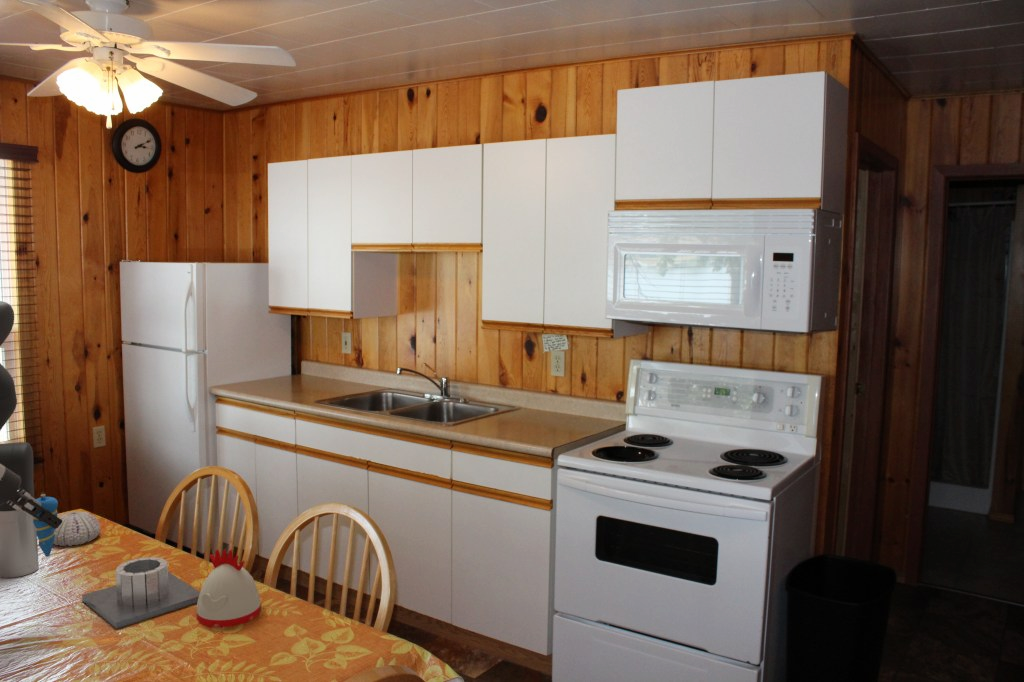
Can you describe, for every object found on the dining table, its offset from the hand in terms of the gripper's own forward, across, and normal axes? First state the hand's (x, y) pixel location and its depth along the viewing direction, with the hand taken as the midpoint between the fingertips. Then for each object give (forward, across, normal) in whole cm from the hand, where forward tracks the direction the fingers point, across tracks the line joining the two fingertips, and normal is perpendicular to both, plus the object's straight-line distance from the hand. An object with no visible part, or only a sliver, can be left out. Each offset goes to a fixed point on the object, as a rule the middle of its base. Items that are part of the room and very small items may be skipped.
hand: (54, 521), depth 182 cm
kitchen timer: (+35, -26, -4) cm, 44 cm away
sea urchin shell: (+29, +47, +2) cm, 55 cm away
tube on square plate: (+27, -6, +4) cm, 28 cm away
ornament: (+4, 0, +7) cm, 8 cm away
